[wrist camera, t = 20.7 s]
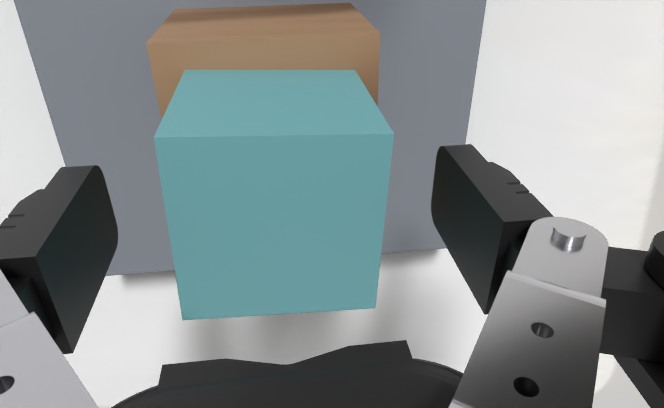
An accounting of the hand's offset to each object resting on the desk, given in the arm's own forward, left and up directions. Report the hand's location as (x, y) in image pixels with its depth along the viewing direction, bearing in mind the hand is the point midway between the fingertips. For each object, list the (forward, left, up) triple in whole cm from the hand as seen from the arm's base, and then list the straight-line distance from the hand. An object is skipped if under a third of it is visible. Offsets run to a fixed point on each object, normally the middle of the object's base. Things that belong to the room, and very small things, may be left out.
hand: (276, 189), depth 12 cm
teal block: (0, 0, -3) cm, 3 cm away
